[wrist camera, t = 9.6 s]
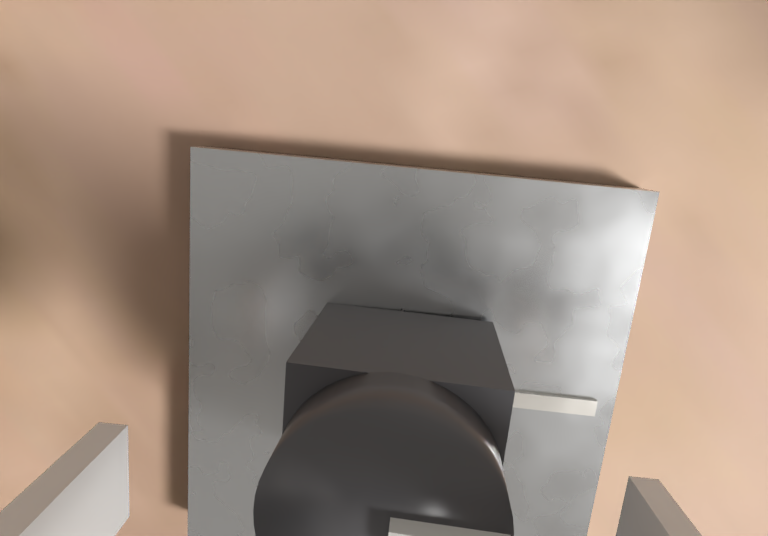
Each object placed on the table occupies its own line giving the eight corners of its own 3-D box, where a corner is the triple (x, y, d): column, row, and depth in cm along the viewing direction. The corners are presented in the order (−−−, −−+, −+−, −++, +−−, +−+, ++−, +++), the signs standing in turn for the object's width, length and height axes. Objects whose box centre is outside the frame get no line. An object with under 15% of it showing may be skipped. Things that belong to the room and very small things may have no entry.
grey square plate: (201, 515, 24) (123, 651, 17) (206, 146, 20) (110, 148, 14) (565, 559, 23) (622, 717, 17) (640, 188, 19) (750, 210, 13)
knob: (314, 450, 21) (241, 632, 13) (324, 299, 19) (250, 403, 12) (473, 472, 20) (496, 673, 13) (496, 319, 19) (537, 440, 11)
